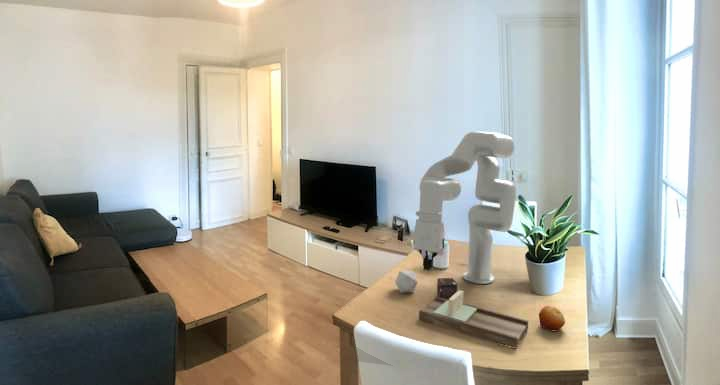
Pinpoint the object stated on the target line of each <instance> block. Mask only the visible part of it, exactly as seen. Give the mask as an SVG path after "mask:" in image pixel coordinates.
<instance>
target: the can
mask: <svg viewBox="0 0 720 385" xmlns="http://www.w3.org/2000/svg"><path fill="white" fill-rule="evenodd" d="M443 250H444V254H443V255H439V256H435V257H434V258H433V267H434V268H436V269H437V270H438V269H440V270H443V269H447V268H448V267H449V265H450V264H449V261H450V244H449V241H448V240H446V239H445V246H444V249H443Z"/></svg>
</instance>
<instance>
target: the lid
mask: <svg viewBox="0 0 720 385" xmlns="http://www.w3.org/2000/svg"><path fill="white" fill-rule="evenodd" d="M463 304H464V290H460V289H458V290H457V292H456V293H455V294H454V295H453V296H452V297H451V298H450V299H449V301H446V302H445V303H443V304H442V305H441V306H440V307H439V308H438V309H437V310H436V311H434V312H433V313H434V314H438V315H441V316H445V317H448V318H452V319H455V320H459V321H462V322H467V321H468V320H469V319H470V318H471V317H472V315H473V314H474V313H475V312H476V311H477V308H473V307H470V306H471V305H470V306H466V305H463Z"/></svg>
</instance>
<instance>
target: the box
mask: <svg viewBox="0 0 720 385" xmlns="http://www.w3.org/2000/svg"><path fill="white" fill-rule="evenodd" d="M457 291H458V283H457V282H456V280H455V279H454V277H438V278H437V284H436V297H440V298H444V299H447V300H449V299H450V298H451V297H452V296H453V295H454V294H455V293H456V292H457Z"/></svg>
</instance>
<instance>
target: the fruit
mask: <svg viewBox="0 0 720 385" xmlns="http://www.w3.org/2000/svg"><path fill="white" fill-rule="evenodd" d="M538 318H539V319H538V320H539V324H540V325H539V326H541V327H542V328H545V329H546V330H548V329H549V330H548V331H552V330H557V331H559V330H560V329H562V327H564V325H565V323H566V319H565V316H564V314H563V312H561V310H559V309H558V308H557V307H555V306H551V305H546V306H544V307H542V308H541V310H540V312H539V314H538Z"/></svg>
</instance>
